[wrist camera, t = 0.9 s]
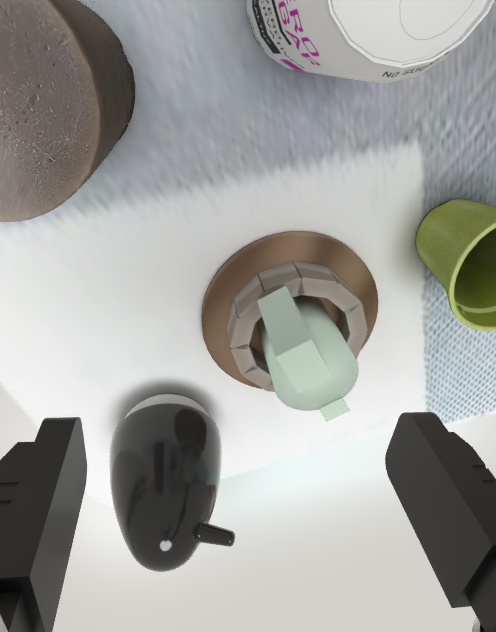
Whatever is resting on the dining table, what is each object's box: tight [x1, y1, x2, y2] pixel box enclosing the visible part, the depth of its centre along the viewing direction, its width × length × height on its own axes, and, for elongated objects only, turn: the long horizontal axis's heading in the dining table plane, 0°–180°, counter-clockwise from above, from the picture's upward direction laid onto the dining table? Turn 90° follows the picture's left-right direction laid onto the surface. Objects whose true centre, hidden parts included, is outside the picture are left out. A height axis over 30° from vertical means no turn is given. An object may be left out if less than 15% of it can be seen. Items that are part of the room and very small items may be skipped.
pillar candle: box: [0, 0, 135, 222], centre depth 22 cm, size 10×10×15 cm
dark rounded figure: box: [110, 394, 235, 572], centre depth 38 cm, size 10×10×15 cm
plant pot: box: [416, 199, 496, 331], centre depth 34 cm, size 9×9×9 cm
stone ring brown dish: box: [202, 231, 378, 392], centre depth 38 cm, size 16×16×4 cm
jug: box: [257, 286, 358, 421], centre depth 33 cm, size 11×6×12 cm, turn 28°
